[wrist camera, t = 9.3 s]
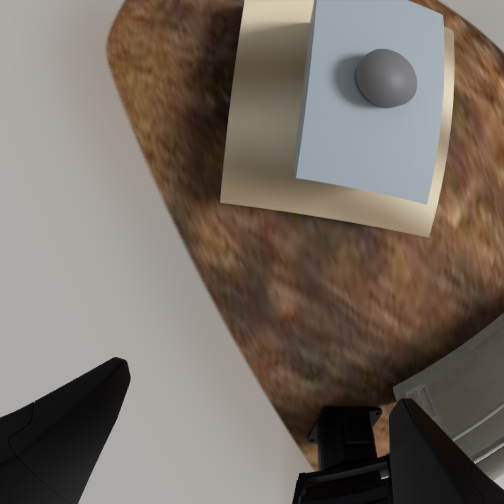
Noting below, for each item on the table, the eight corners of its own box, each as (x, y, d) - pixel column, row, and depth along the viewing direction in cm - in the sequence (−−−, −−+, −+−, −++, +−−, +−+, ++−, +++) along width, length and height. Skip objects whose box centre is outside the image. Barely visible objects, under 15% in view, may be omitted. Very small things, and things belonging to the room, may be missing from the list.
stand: (410, 222, 17) (428, 237, 14) (230, 192, 18) (220, 202, 15) (432, 42, 12) (453, 31, 10) (254, 2, 13) (248, -19, 10)
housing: (309, 22, 11) (320, -34, 6) (401, 44, 11) (451, 9, 5) (292, 165, 14) (297, 181, 9) (385, 183, 14) (436, 210, 8)
